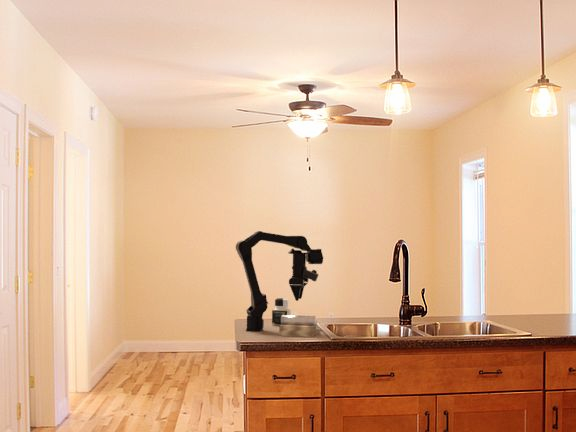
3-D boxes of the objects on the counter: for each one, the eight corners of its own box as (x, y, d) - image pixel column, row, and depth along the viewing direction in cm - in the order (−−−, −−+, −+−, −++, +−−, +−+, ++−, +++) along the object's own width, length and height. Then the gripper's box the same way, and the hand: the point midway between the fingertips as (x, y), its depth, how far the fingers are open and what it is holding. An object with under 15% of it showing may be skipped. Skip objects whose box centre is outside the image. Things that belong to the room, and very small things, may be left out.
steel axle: (280, 326, 285) (280, 315, 285) (282, 324, 289) (282, 314, 289) (314, 327, 283) (314, 316, 283) (315, 325, 287) (315, 315, 287)
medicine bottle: (271, 325, 313) (272, 298, 313) (275, 323, 320) (276, 297, 320) (286, 325, 311) (287, 299, 312) (290, 323, 318) (290, 298, 319)
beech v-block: (279, 335, 281) (279, 325, 282) (283, 331, 292) (283, 322, 292) (313, 336, 279) (313, 326, 279) (316, 332, 290) (316, 323, 290)
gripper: (314, 265, 291) (314, 302, 290) (319, 263, 309) (319, 298, 309) (288, 264, 292) (288, 301, 292) (295, 263, 311) (294, 297, 310)
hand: (298, 299), depth 301 cm, fingers open, 9 cm apart
